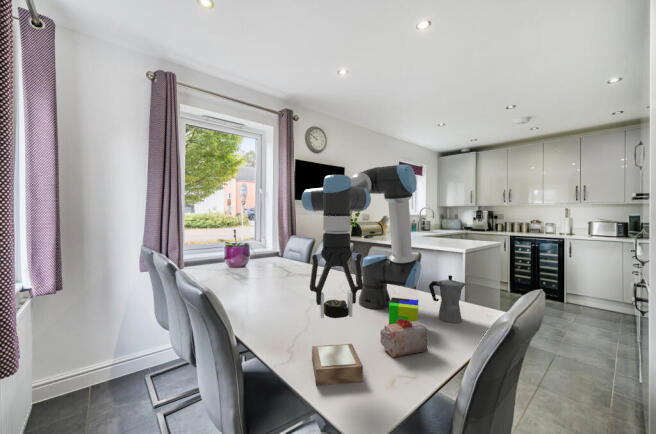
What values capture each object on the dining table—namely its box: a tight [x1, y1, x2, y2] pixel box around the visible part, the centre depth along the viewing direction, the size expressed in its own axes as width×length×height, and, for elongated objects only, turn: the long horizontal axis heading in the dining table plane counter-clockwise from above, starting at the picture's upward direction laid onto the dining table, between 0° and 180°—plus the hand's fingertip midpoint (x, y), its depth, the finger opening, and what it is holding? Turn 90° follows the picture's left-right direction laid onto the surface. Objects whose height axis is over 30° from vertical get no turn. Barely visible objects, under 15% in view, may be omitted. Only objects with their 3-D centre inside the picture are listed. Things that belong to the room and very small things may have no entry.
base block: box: [311, 343, 364, 386], centre depth 74 cm, size 12×12×4 cm
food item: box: [380, 317, 429, 358], centre depth 85 cm, size 14×8×10 cm, turn 109°
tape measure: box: [324, 299, 349, 319], centre depth 74 cm, size 7×7×4 cm
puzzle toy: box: [388, 297, 419, 325], centre depth 101 cm, size 10×10×10 cm
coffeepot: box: [428, 274, 467, 324], centre depth 111 cm, size 15×9×18 cm, turn 92°
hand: (335, 315), depth 74 cm, fingers closed on tape measure, 7 cm apart
